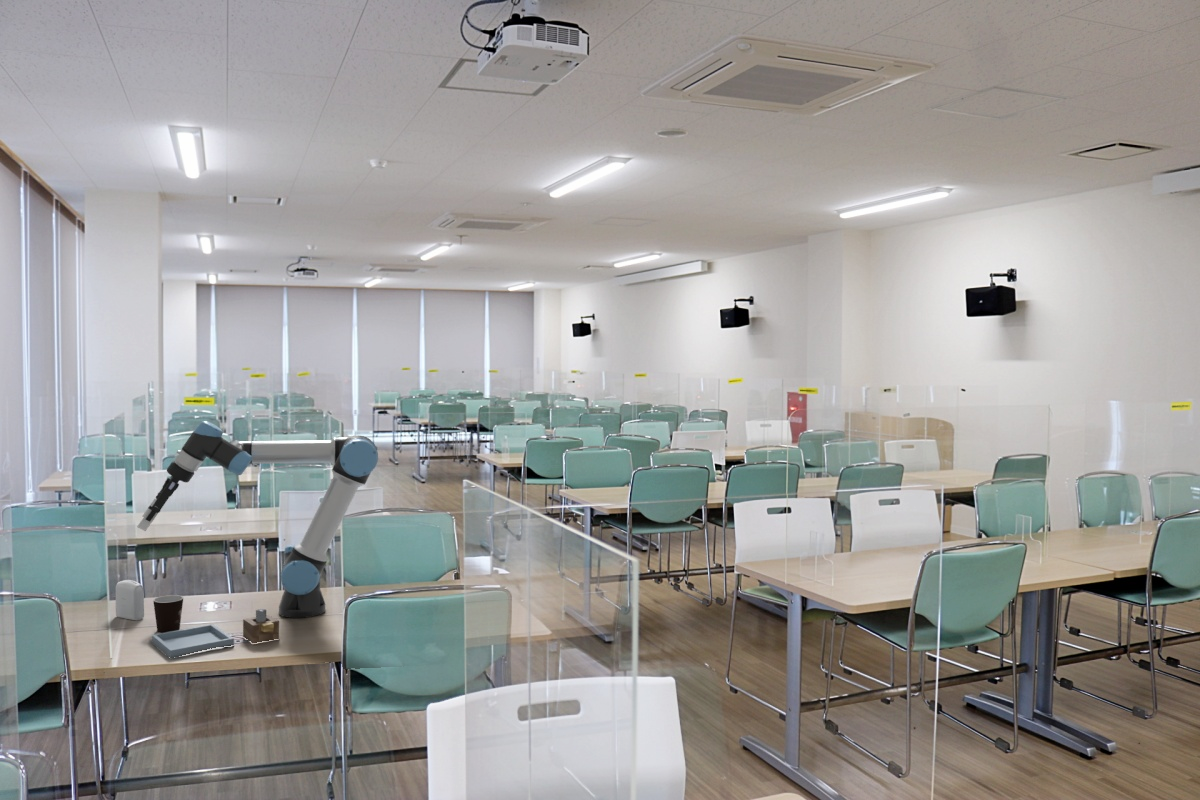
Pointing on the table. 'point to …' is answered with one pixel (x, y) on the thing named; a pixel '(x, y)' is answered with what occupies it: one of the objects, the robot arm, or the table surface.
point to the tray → (191, 640)
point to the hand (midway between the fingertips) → (143, 523)
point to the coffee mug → (168, 612)
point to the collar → (261, 629)
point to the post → (260, 615)
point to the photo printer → (129, 600)
